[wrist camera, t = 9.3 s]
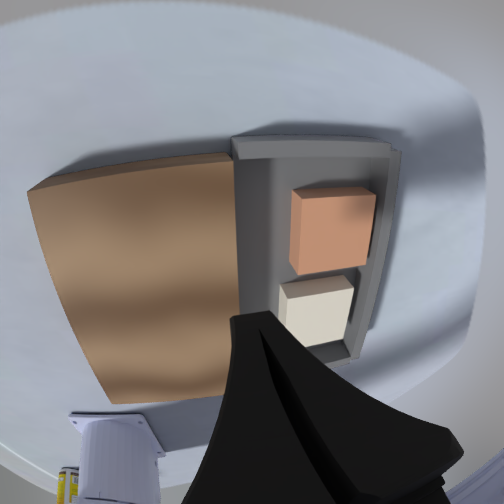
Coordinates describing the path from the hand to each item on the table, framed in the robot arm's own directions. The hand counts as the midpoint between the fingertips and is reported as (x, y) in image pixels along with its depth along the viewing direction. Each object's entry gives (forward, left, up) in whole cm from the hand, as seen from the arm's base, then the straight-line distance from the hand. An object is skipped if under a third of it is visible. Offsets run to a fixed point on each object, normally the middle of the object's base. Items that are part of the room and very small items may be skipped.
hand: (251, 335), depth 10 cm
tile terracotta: (0, -6, -6) cm, 9 cm away
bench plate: (-3, +4, -8) cm, 10 cm away
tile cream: (-6, -6, -6) cm, 10 cm away
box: (-3, -5, -8) cm, 10 cm away
